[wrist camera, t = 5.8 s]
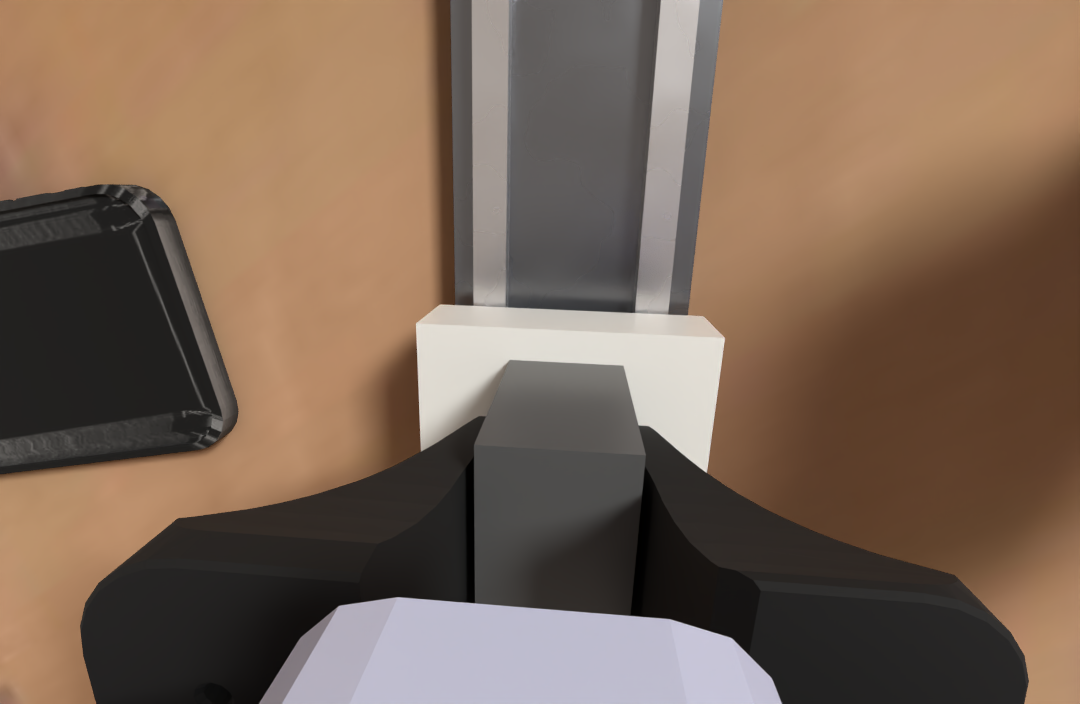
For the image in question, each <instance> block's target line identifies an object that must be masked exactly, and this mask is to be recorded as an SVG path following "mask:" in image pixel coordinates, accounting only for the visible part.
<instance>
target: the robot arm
mask: <svg viewBox="0 0 1080 704" xmlns="http://www.w3.org/2000/svg"><path fill="white" fill-rule="evenodd" d="M485 418H486V416H478V417H476V418H474V419H473V420H471V421H470V422H468V423H466V424H465V425H463V426H462V427H460V428H459V429H457V430H456V431H454V432H453V433H451V434H449V435H448V436H446V437H445V438H443V439H442V440H440V441H439V442H437V443H435V444H434V445H432V446H430V447H428V448H427V449H425V450H423V451H421V452H419V453H418V454H416V455H414V456H412V457H410V458H409V459H407V460H405V461H403V462H401V463H399V464H397V465H395V466H393V467H391V468H388V469H386V470H384V471H382V472H379V473H377V474H374V475H372V476H370V477H367V478H365V479H362V480H359V481H357V482H353V483H350V484H347V485H344V486H341V487H338V488H335V489H331V490H328V491H325V492H322V493H319V494H316V495H312V496H308V497H304V498H300V499H296V500H292V501H287V502H283V503H278V504H273V505H268V506H263V507H258V508H252V509H247V510H240V511H232V512H225V513H218V514H211V515H203V516H196V517H187V518H178V519H176V520H175V521H174V522H173V523H172V524H171V525H169V526H168V527H167V528H166V529H164V530H163V531H162V532H161V533H159V534H158V535H157V536H156V537H155V538H153V539H152V540H151V541H150V542H148V543H147V544H146V545H145V546H144V547H142V548H141V549H140V550H139V551H137V552H136V553H135V554H134V555H132V556H131V557H130V558H129V559H128V560H126V561H125V562H124V563H123V564H121V565H120V566H119V567H118V568H117V569H115V570H114V571H113V572H112V573H110V574H109V575H108V576H107V577H105V578H104V579H103V580H102V581H101V582H99V583H98V585H97V586H96V588H95V589H94V591H93V592H92V594H91V595H90V597H89V598H88V600H87V601H86V603H85V607H84V612H83V616H82V620H81V625H80V629H81V639H82V648H83V656H84V660H85V664H86V667H87V671H88V675H89V678H90V682H91V686H92V689H93V693H94V697H95V700H96V704H1024V702H1025V697H1026V692H1027V687H1028V682H1029V680H1028V674H1027V668H1026V662H1025V656H1024V654H1023V652H1022V651H1021V649H1020V647H1019V646H1018V644H1017V642H1016V641H1015V639H1014V637H1013V636H1012V634H1011V632H1010V631H1009V630H1008V629H1007V628H1006V627H1005V626H1004V625H1003V624H1002V623H1001V622H1000V621H999V620H998V619H997V618H996V617H995V616H994V615H993V614H992V613H991V612H990V611H989V610H988V609H987V608H986V607H985V606H984V605H983V604H982V602H981V601H980V600H979V599H978V598H977V597H976V596H975V595H974V594H973V593H972V592H971V591H970V590H969V589H968V588H967V587H966V586H965V585H964V584H963V583H962V582H961V581H960V580H959V579H958V578H957V577H956V576H955V575H952V574H948V573H945V572H941V571H937V570H934V569H930V568H926V567H923V566H919V565H915V564H911V563H908V562H904V561H900V560H897V559H893V558H889V557H886V556H882V555H879V554H876V553H872V552H869V551H867V550H864V549H861V548H858V547H855V546H852V545H849V544H846V543H843V542H840V541H838V540H835V539H832V538H830V537H827V536H825V535H822V534H819V533H817V532H814V531H812V530H809V529H807V528H805V527H803V526H800V525H798V524H796V523H794V522H791V521H789V520H787V519H785V518H783V517H780V516H778V515H776V514H774V513H772V512H770V511H768V510H766V509H764V508H762V507H761V506H759V505H757V504H755V503H753V502H752V501H750V500H748V499H746V498H745V497H743V496H741V495H739V494H738V493H736V492H734V491H733V490H731V489H730V488H728V487H726V486H725V485H723V484H722V483H720V482H719V481H718V480H716V479H715V478H713V477H712V476H710V475H709V474H708V473H706V472H705V471H703V470H702V469H701V468H699V467H698V466H697V465H696V464H694V463H693V462H692V461H690V460H689V459H688V458H687V457H686V456H684V455H683V454H682V453H681V452H679V451H678V450H677V449H676V448H675V447H674V446H672V445H671V444H670V443H669V442H668V441H667V440H666V439H664V438H663V437H662V436H661V435H660V434H659V433H657V432H656V431H655V430H654V429H652V428H651V427H650V426H640V425H638V426H639V430H640V434H641V438H642V442H643V446H644V450H645V454H646V459H645V469H644V480H643V490H642V501H641V511H640V521H639V532H638V542H637V552H636V563H635V573H634V583H633V594H632V604H631V615H630V616H624V615H612V614H599V613H587V612H574V611H562V610H550V609H537V608H525V607H512V606H500V605H488V604H475V530H474V444H475V441H476V439H477V437H478V434H479V432H480V429H481V427H482V425H483V422H484V420H485Z"/></svg>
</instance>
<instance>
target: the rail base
mask: <svg viewBox="0 0 1080 704" xmlns="http://www.w3.org/2000/svg"><path fill="white" fill-rule="evenodd" d="M722 5H723V0H450V8H451V70H452V132H453V195H454V257H455V305H463V306H486V307H508V308H530V309H553V310H575V311H598V312H620V313H642V314H665V315H687V316H688V308H689V299H690V290H691V281H692V273H693V264H694V255H695V246H696V237H697V228H698V219H699V210H700V201H701V192H702V183H703V174H704V166H705V157H706V148H707V139H708V130H709V121H710V112H711V103H712V94H713V85H714V76H715V67H716V59H717V50H718V41H719V32H720V23H721V14H722Z"/></svg>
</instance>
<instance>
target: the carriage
mask: <svg viewBox="0 0 1080 704" xmlns="http://www.w3.org/2000/svg"><path fill="white" fill-rule="evenodd" d="M416 335H417V361H418V387H419V414H420V440H421V451H423V450H425V449H427V448H428V447H430V446H432V445H434V444H435V443H437V442H439V441H440V440H442V439H443V438H445V437H446V436H448V435H449V434H451V433H453V432H454V431H456V430H457V429H459V428H460V427H462V426H463V425H465V424H466V423H468V422H470V421H471V420H473V419H474V418H476V417H478V416H486V418H485V420H484V422H483V425H482V427H481V429H480V432H479V434H478V437H477V439H476V441H475V444H474V530H475V604H488V605H500V606H512V607H525V608H537V609H550V610H562V611H574V612H587V613H599V614H612V615H624V616H630V615H631V604H632V594H633V583H634V573H635V563H636V552H637V542H638V532H639V521H640V511H641V501H642V490H643V480H644V469H645V459H646V454H645V450H644V446H643V442H642V438H641V434H640V430H639V426H638V425H640V426H650V427H651V428H652V429H654V430H655V431H656V432H657V433H659V434H660V435H661V436H662V437H663V438H664V439H666V440H667V441H668V442H669V443H670V444H671V445H672V446H674V447H675V448H676V449H677V450H678V451H679V452H681V453H682V454H683V455H684V456H686V457H687V458H688V459H689V460H690V461H692V462H693V463H694V464H696V465H697V466H698V467H699V468H701V469H702V470H703V471H705V472H706V473H707V468H708V460H709V453H710V445H711V438H712V431H713V423H714V416H715V408H716V401H717V393H718V386H719V378H720V371H721V364H722V356H723V349H724V341H725V338H724V337H723V336H722V334H721V333H720V332H719V331H718V330H717V329H716V328H715V327H714V326H713V325H712V324H711V323H710V322H709V321H708V320H707V319H706V318H705V317H704V316H687V315H665V314H642V313H620V312H598V311H575V310H553V309H530V308H508V307H486V306H463V305H441V304H440V305H439V306H437V307H436V308H435V309H434V310H432V311H431V312H430V313H429V314H427V315H426V316H425V317H424V318H422V319H421V320H420V321H419V322H417V323H416Z"/></svg>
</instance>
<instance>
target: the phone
mask: <svg viewBox="0 0 1080 704" xmlns="http://www.w3.org/2000/svg"><path fill="white" fill-rule="evenodd" d="M237 418H238V406H237V400H236V397H235V395H234V392H233V389H232V386H231V383H230V380H229V377H228V374H227V371H226V368H225V365H224V362H223V359H222V356H221V353H220V350H219V347H218V344H217V341H216V339H215V336H214V333H213V330H212V327H211V324H210V321H209V318H208V315H207V312H206V309H205V306H204V303H203V300H202V297H201V294H200V291H199V288H198V285H197V283H196V280H195V277H194V274H193V271H192V268H191V265H190V262H189V259H188V256H187V253H186V250H185V247H184V244H183V241H182V238H181V235H180V232H179V229H178V227H177V224H176V221H175V219H174V217H173V215H172V213H171V211H170V209H169V207H168V206H167V205H166V204H165V203H164V201H163V200H162V199H161V198H160V197H159V196H157V195H156V194H154V193H153V192H152V191H150V190H149V189H146V188H143V187H140V186H137V185H94V186H89V187H80V188H74V189H69V190H65V191H62V192H57V193H45V194H39V195H34V196H29V197H24V198H18V199H16V200H15V201H13V200H4V201H0V474H6V473H14V472H22V471H31V470H39V469H47V468H55V467H63V466H71V465H80V464H88V463H96V462H104V461H112V460H120V459H129V458H137V457H145V456H153V455H161V454H169V453H178V452H186V451H194V450H200V449H203V448H207V447H209V446H211V445H212V444H213V443H215V442H216V441H218V440H219V439H221V438H222V437H224V436H225V435H226V434H228V433H229V432H230V431H232V429H233V427H234V426H235V424H236V422H237Z"/></svg>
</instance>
